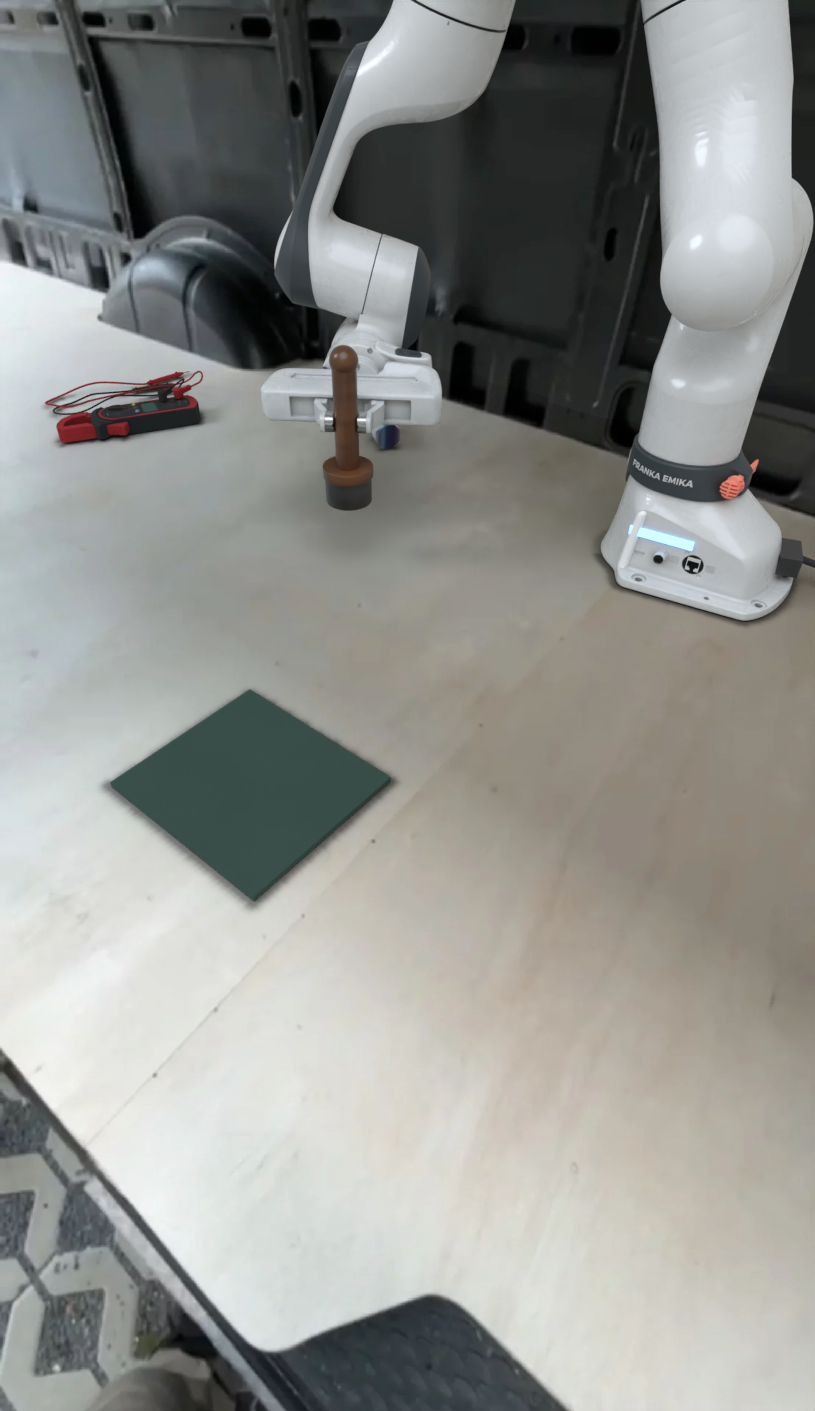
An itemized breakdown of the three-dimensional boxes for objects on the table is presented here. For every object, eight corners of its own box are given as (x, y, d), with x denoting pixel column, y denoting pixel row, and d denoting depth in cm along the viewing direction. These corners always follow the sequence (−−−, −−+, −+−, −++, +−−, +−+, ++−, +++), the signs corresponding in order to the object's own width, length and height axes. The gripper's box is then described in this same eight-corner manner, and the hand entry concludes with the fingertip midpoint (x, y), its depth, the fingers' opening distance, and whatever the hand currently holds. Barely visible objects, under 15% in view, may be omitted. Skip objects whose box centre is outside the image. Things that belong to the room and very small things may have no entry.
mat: (390, 781, 69) (390, 777, 69) (254, 901, 60) (253, 897, 59) (250, 693, 77) (249, 688, 77) (111, 786, 68) (109, 782, 68)
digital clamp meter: (221, 395, 122) (51, 420, 114) (225, 424, 125) (59, 450, 117) (186, 347, 137) (33, 366, 129) (190, 374, 140) (41, 394, 132)
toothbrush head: (371, 425, 115) (334, 346, 131) (371, 465, 120) (334, 384, 136) (406, 422, 116) (364, 343, 132) (404, 462, 122) (364, 381, 137)
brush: (383, 498, 91) (382, 344, 79) (350, 517, 88) (344, 359, 76) (347, 483, 93) (341, 332, 82) (314, 501, 90) (303, 346, 79)
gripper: (269, 348, 92) (244, 392, 82) (444, 353, 92) (441, 399, 81) (274, 402, 97) (251, 450, 86) (442, 408, 96) (439, 458, 86)
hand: (345, 426), depth 84 cm, fingers closed on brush, 2 cm apart
